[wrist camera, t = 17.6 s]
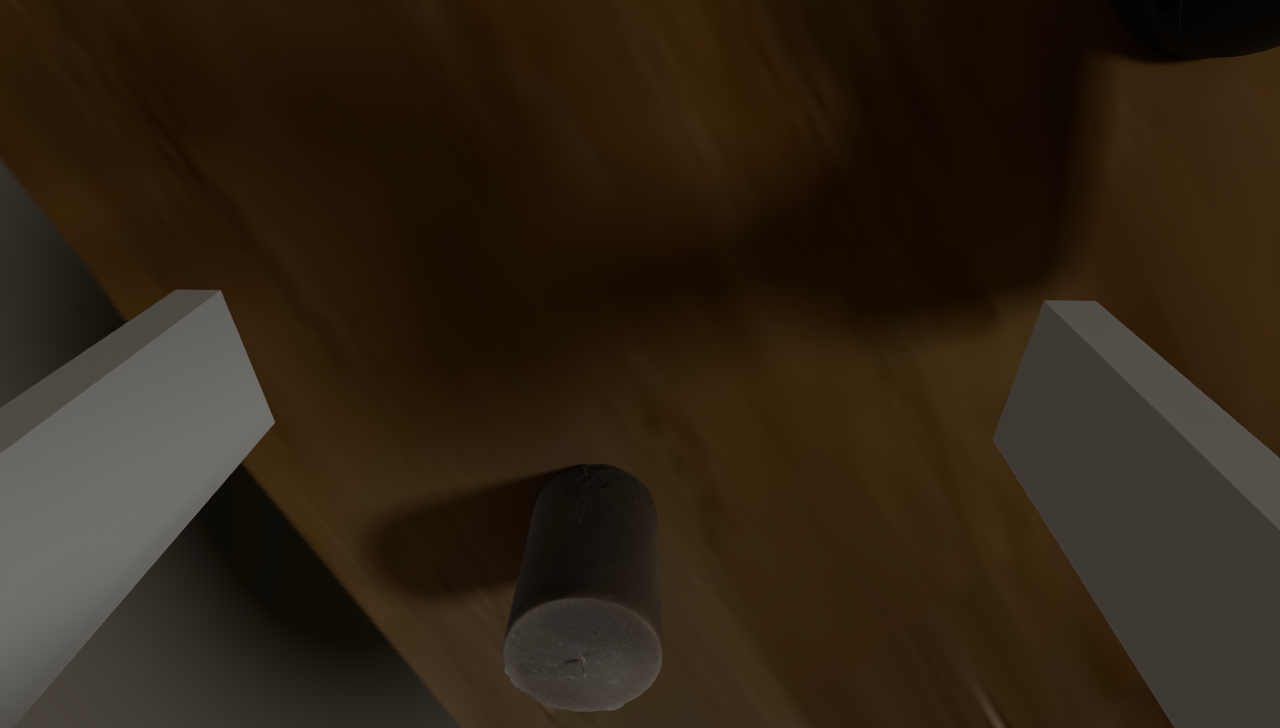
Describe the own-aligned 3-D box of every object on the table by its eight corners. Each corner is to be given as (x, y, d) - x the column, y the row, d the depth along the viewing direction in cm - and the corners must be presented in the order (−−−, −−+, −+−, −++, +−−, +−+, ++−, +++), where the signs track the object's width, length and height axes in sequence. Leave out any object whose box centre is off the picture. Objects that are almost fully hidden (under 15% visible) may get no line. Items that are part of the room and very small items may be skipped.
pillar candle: (615, 442, 48) (608, 587, 34) (678, 533, 51) (694, 697, 38) (508, 497, 50) (460, 655, 36) (576, 581, 53) (556, 755, 40)
